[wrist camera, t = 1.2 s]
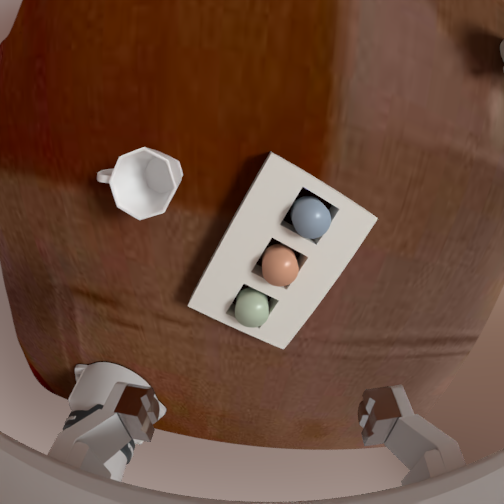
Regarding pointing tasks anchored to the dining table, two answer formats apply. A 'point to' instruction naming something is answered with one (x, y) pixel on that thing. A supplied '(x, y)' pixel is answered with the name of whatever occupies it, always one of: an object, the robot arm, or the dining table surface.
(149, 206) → the cup
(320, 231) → the slate button
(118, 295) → the dining table surface
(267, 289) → the button panel
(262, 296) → the sage button
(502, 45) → the mug
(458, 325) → the dining table surface
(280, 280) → the terracotta button
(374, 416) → the robot arm
